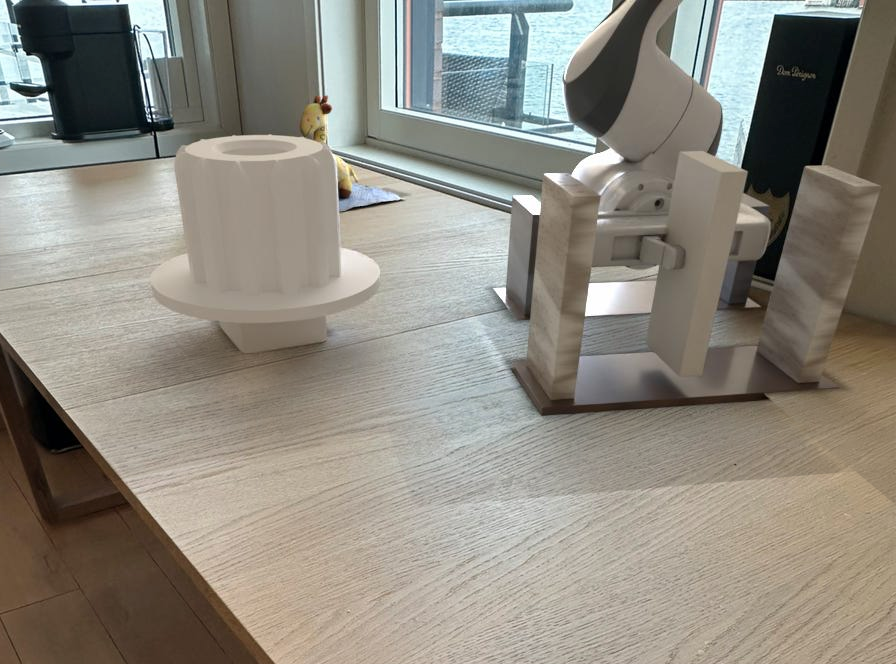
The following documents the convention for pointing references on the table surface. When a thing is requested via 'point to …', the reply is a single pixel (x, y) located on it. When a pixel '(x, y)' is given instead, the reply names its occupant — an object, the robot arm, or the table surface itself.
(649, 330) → the white rectangular block
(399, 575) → the table surface
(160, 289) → the flanged gear
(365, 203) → the stuffed giraffe
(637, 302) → the grey stand
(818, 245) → the marble pillar rack
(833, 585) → the table surface
